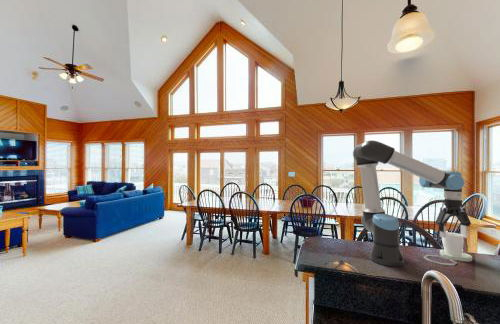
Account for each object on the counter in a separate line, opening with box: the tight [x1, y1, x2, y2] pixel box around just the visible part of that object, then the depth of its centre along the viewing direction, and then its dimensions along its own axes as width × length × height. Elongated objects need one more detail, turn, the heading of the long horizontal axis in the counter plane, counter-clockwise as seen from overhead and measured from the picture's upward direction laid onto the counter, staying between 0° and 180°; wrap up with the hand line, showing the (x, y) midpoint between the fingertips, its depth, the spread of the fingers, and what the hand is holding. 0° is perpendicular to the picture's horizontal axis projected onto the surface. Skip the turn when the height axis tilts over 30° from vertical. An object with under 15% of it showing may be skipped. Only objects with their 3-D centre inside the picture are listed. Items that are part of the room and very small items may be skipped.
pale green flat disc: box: [439, 249, 473, 262], centre depth 120 cm, size 13×13×2 cm
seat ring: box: [423, 254, 458, 267], centre depth 115 cm, size 12×12×1 cm
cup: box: [441, 231, 465, 257], centre depth 120 cm, size 9×9×12 cm
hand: (453, 237), depth 121 cm, fingers open, 13 cm apart
